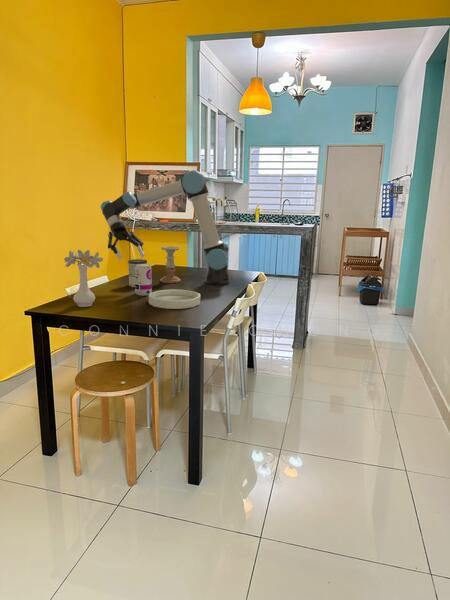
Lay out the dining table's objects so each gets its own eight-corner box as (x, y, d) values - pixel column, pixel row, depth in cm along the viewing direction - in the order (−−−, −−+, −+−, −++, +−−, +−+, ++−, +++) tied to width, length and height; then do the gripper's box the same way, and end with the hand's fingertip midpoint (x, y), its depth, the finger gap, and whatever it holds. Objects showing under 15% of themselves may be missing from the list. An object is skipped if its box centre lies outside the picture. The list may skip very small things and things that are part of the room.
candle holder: (167, 278, 251) (167, 245, 246) (184, 280, 246) (184, 247, 242) (155, 282, 240) (155, 247, 236) (173, 284, 235) (173, 249, 231)
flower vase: (108, 301, 192) (106, 248, 187) (86, 311, 175) (83, 253, 169) (83, 299, 195) (80, 246, 189) (59, 308, 178) (55, 251, 172)
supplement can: (154, 293, 212) (154, 264, 209) (146, 296, 205) (146, 266, 201) (140, 291, 215) (140, 263, 211) (132, 294, 207) (131, 265, 204)
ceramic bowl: (200, 296, 208) (200, 290, 207) (200, 309, 184) (200, 301, 183) (152, 295, 206) (152, 289, 205) (146, 308, 183) (146, 300, 182)
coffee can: (132, 283, 235) (131, 258, 232) (149, 284, 234) (149, 259, 231) (126, 286, 225) (125, 261, 222) (144, 287, 224) (144, 262, 221)
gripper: (134, 229, 231) (149, 259, 224) (92, 231, 214) (107, 263, 207) (139, 220, 226) (154, 251, 219) (96, 221, 209) (112, 254, 202)
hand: (131, 257), depth 213 cm, fingers open, 13 cm apart
